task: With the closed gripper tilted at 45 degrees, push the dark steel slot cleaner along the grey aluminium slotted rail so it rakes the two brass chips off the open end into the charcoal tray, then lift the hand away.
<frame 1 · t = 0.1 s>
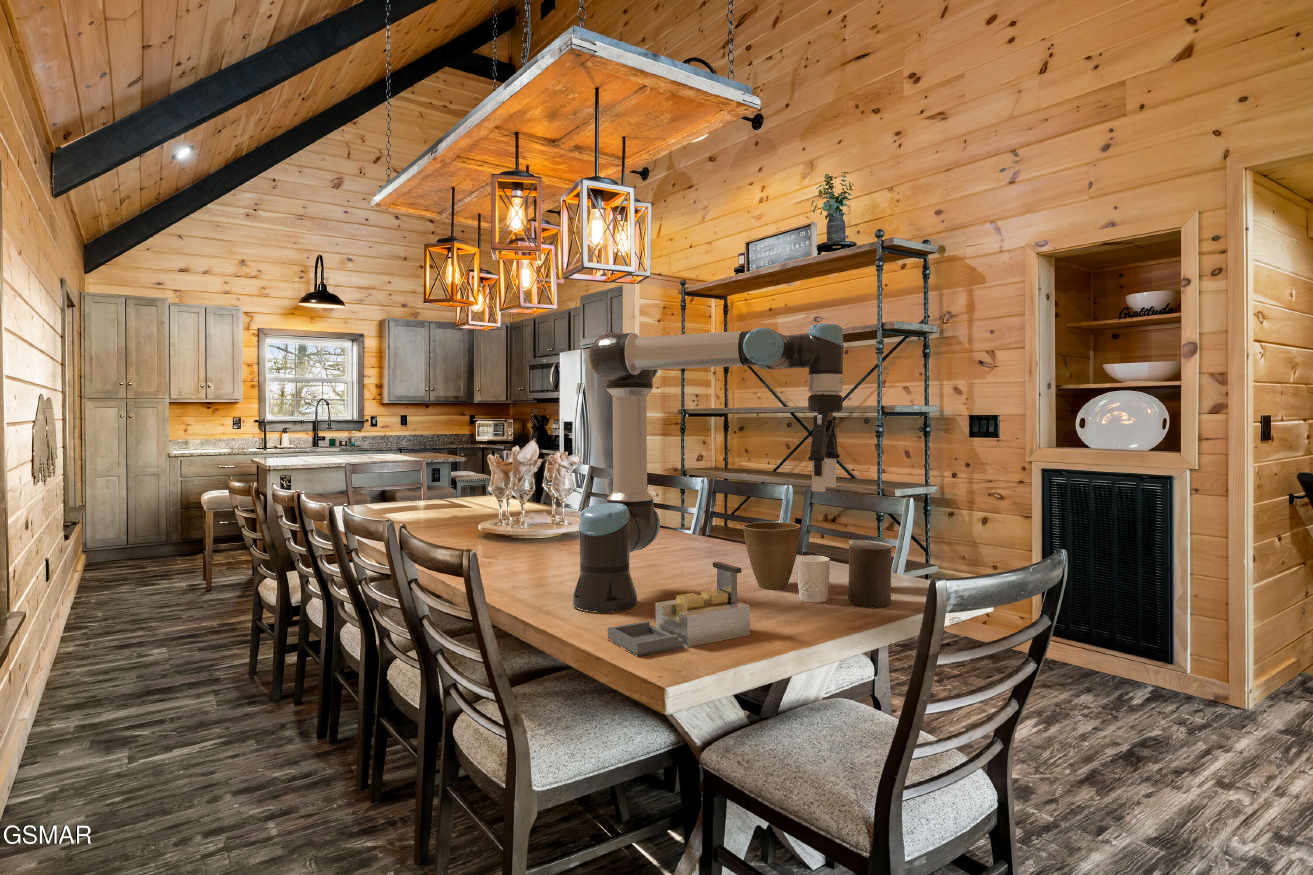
hand: (824, 489, 163), 28 cm above the table, tool pointing down, fingers open, 13 cm apart
brass chip A: (714, 611, 150), point 4 cm above the table, touching slotted rail
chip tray: (644, 643, 141), on the table
slot cleaner: (726, 586, 151), point 9 cm above the table, slide at 0.0 cm
plastic cup: (870, 589, 186), on the table
white cup: (813, 600, 175), on the table
pillar candle: (870, 603, 172), on the table
brass chip B: (690, 615, 147), point 4 cm above the table, touching slotted rail
slotted rail: (700, 633, 148), on the table
plant pot: (771, 586, 190), on the table
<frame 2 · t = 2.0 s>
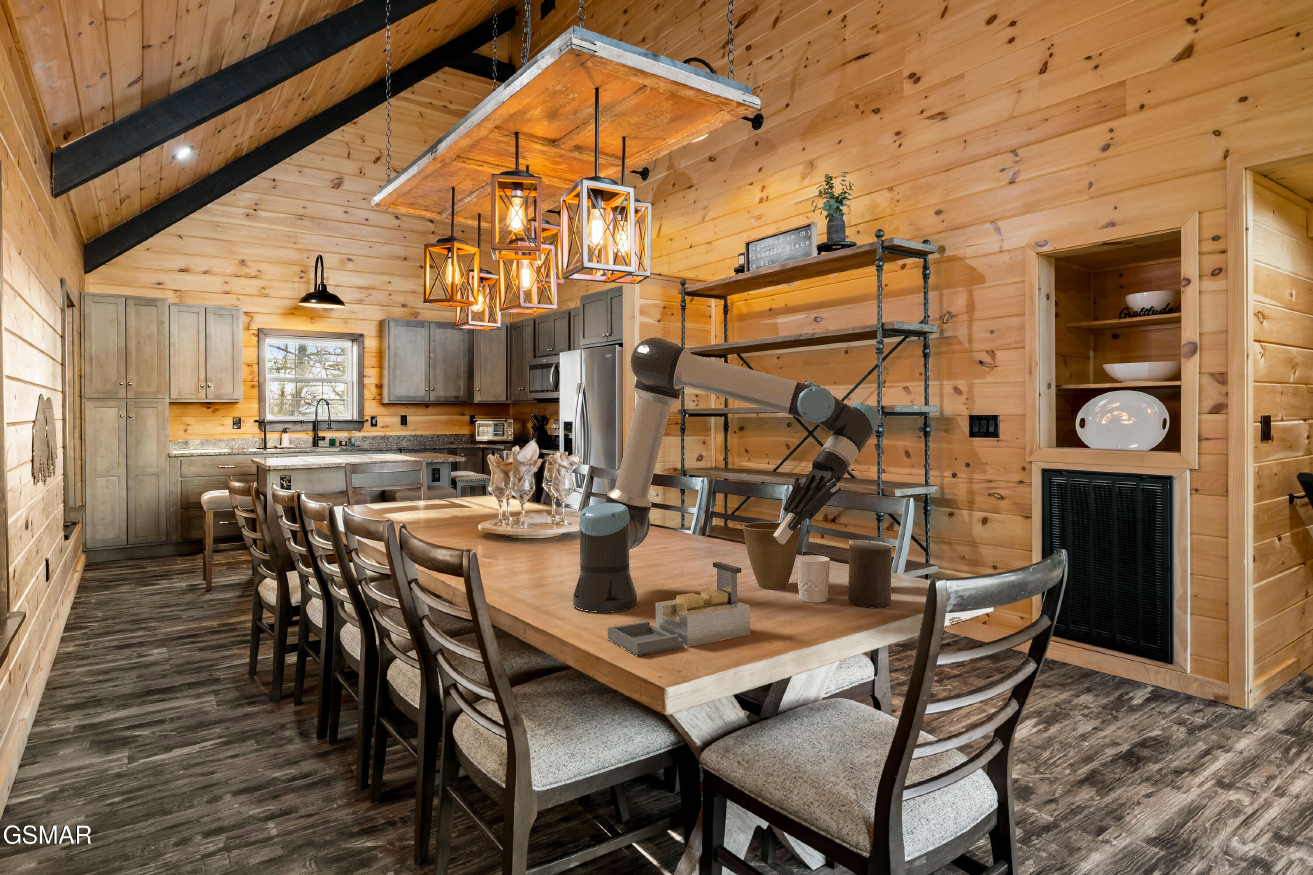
hand: (778, 539, 157), 17 cm above the table, tool tilted 45°, fingers closed
nothing on the table moved.
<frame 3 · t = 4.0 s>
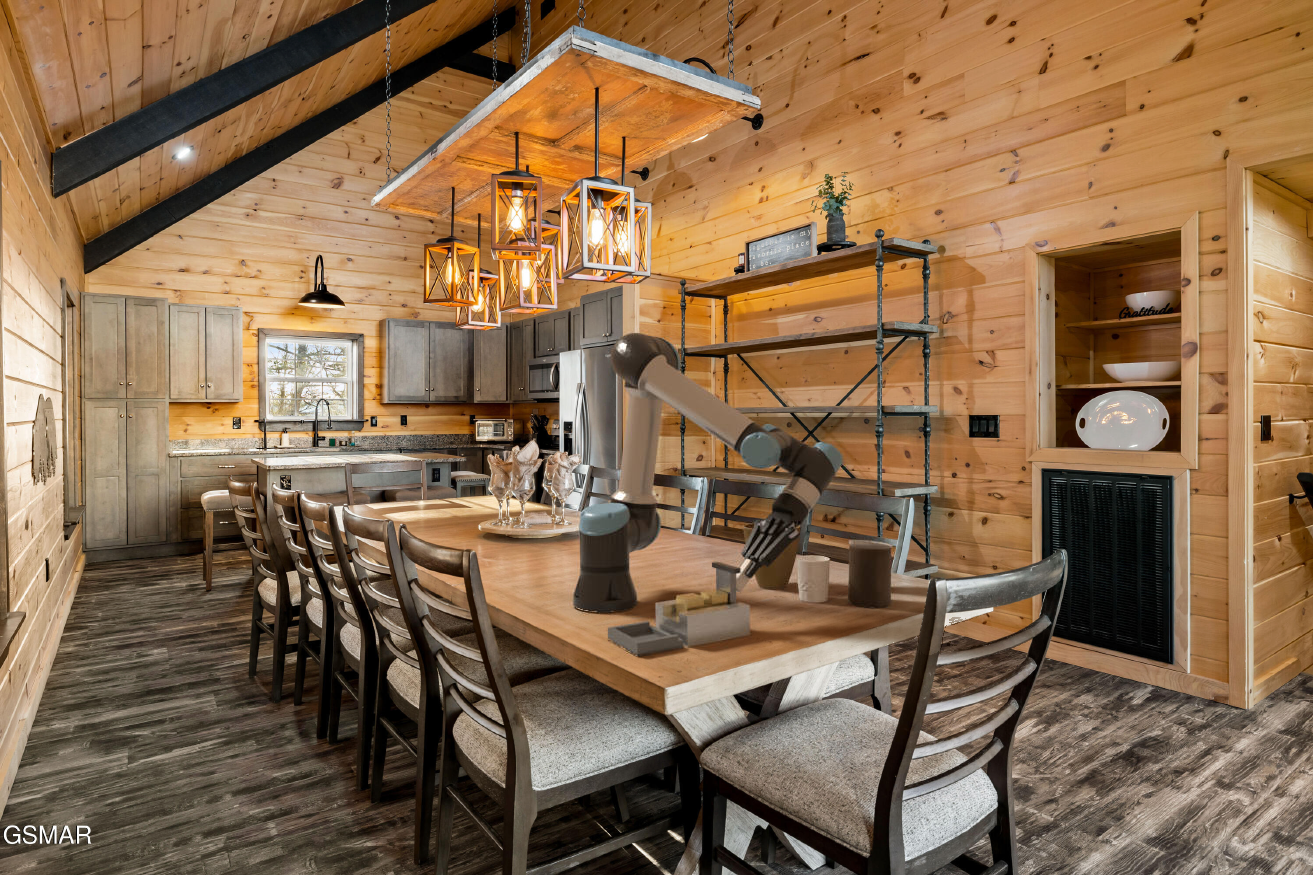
hand: (734, 587, 152), 8 cm above the table, tool tilted 45°, fingers closed
slot cleaner: (726, 586, 151), point 9 cm above the table, slide at 0.2 cm, touching gripper
everything else where it was.
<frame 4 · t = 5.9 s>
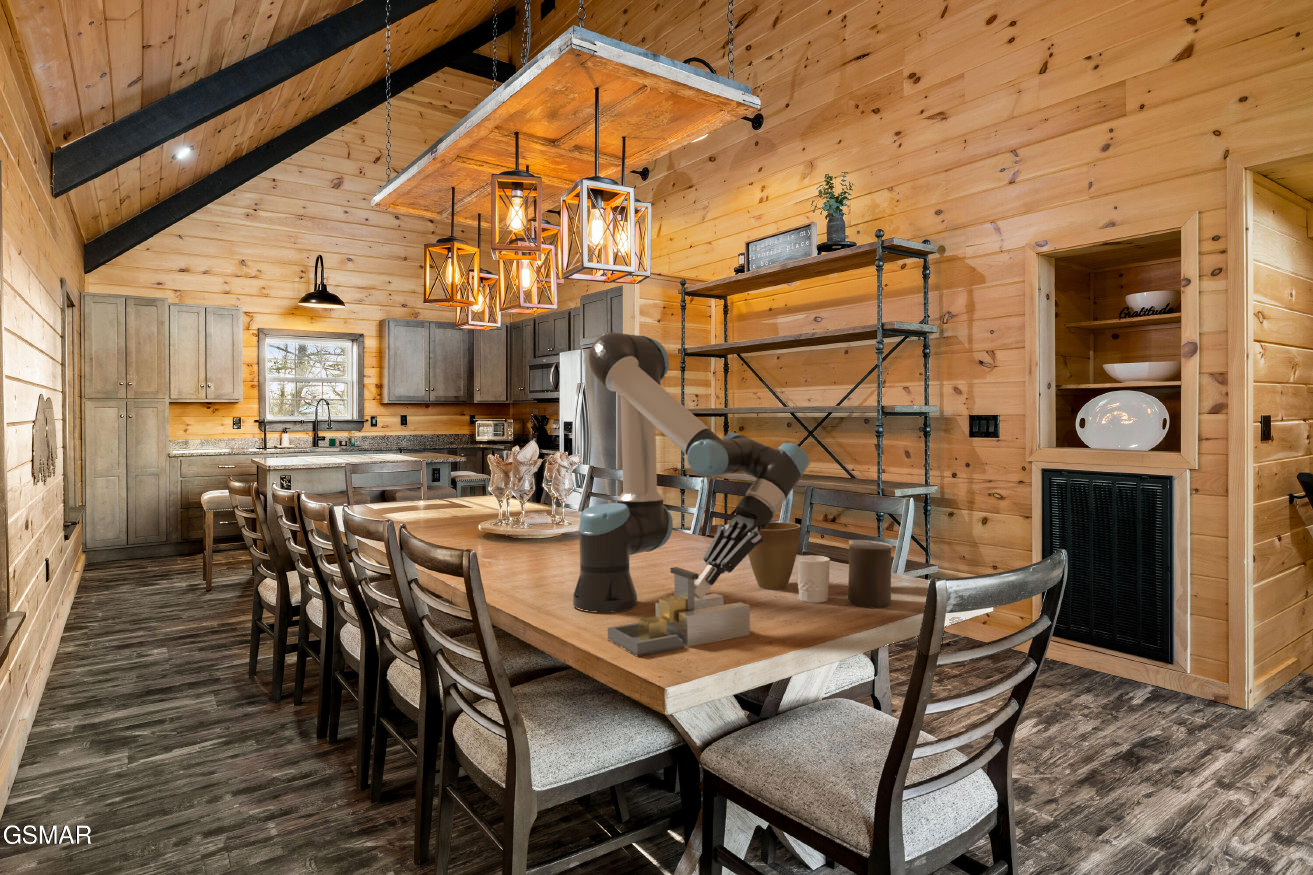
hand: (695, 594, 146), 8 cm above the table, tool tilted 45°, fingers closed
brass chip A: (672, 618, 145), point 4 cm above the table, touching slot cleaner, slotted rail
slot cleaner: (684, 593, 146), point 9 cm above the table, slide at 10.6 cm, touching brass chip A, gripper
brass chip B: (661, 628, 143), point 2 cm above the table, tilted 90°, touching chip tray
everything else where it was.
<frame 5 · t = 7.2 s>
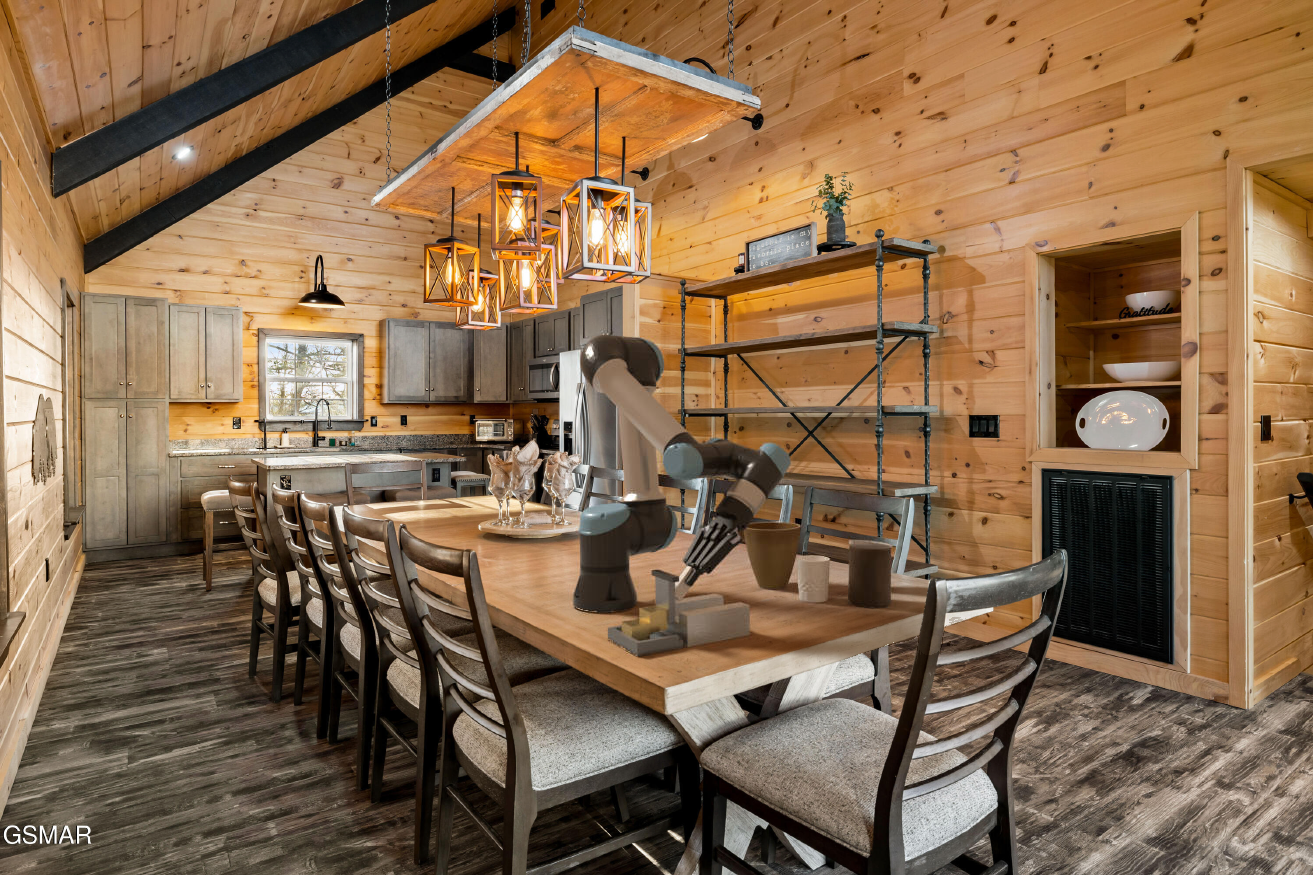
hand: (674, 596, 144), 9 cm above the table, tool tilted 45°, fingers closed
brass chip A: (653, 628, 142), point 3 cm above the table, touching brass chip B, slot cleaner
slot cleaner: (665, 595, 144), point 9 cm above the table, slide at 15.0 cm, touching brass chip A, gripper
brass chip B: (644, 631, 141), point 2 cm above the table, tilted 90°, touching brass chip A, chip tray
everything else where it was.
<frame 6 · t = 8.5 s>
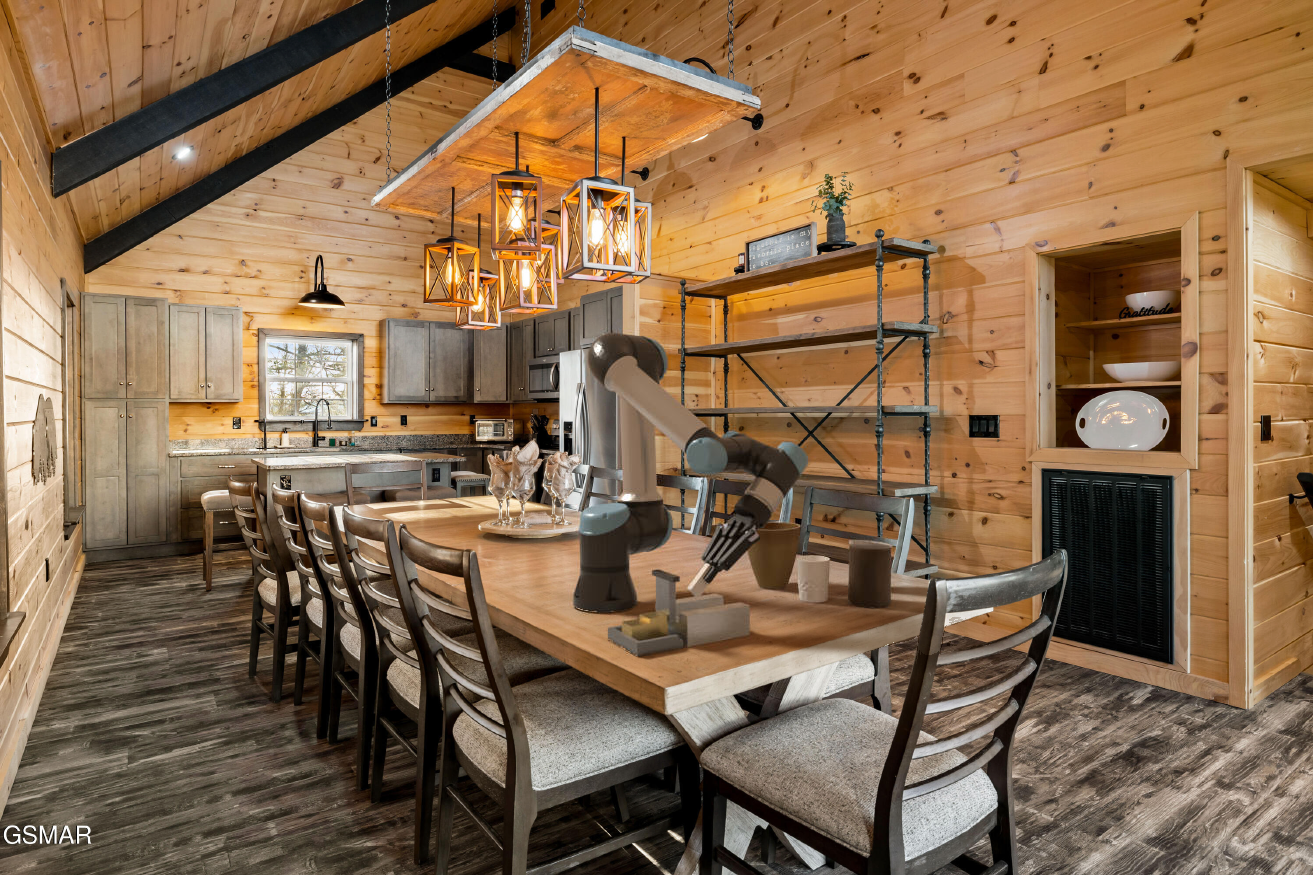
hand: (693, 593, 146), 9 cm above the table, tool tilted 45°, fingers closed
brass chip A: (654, 634, 142), point 1 cm above the table, touching brass chip B, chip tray
slot cleaner: (665, 595, 144), point 9 cm above the table, slide at 14.9 cm
everything else where it was.
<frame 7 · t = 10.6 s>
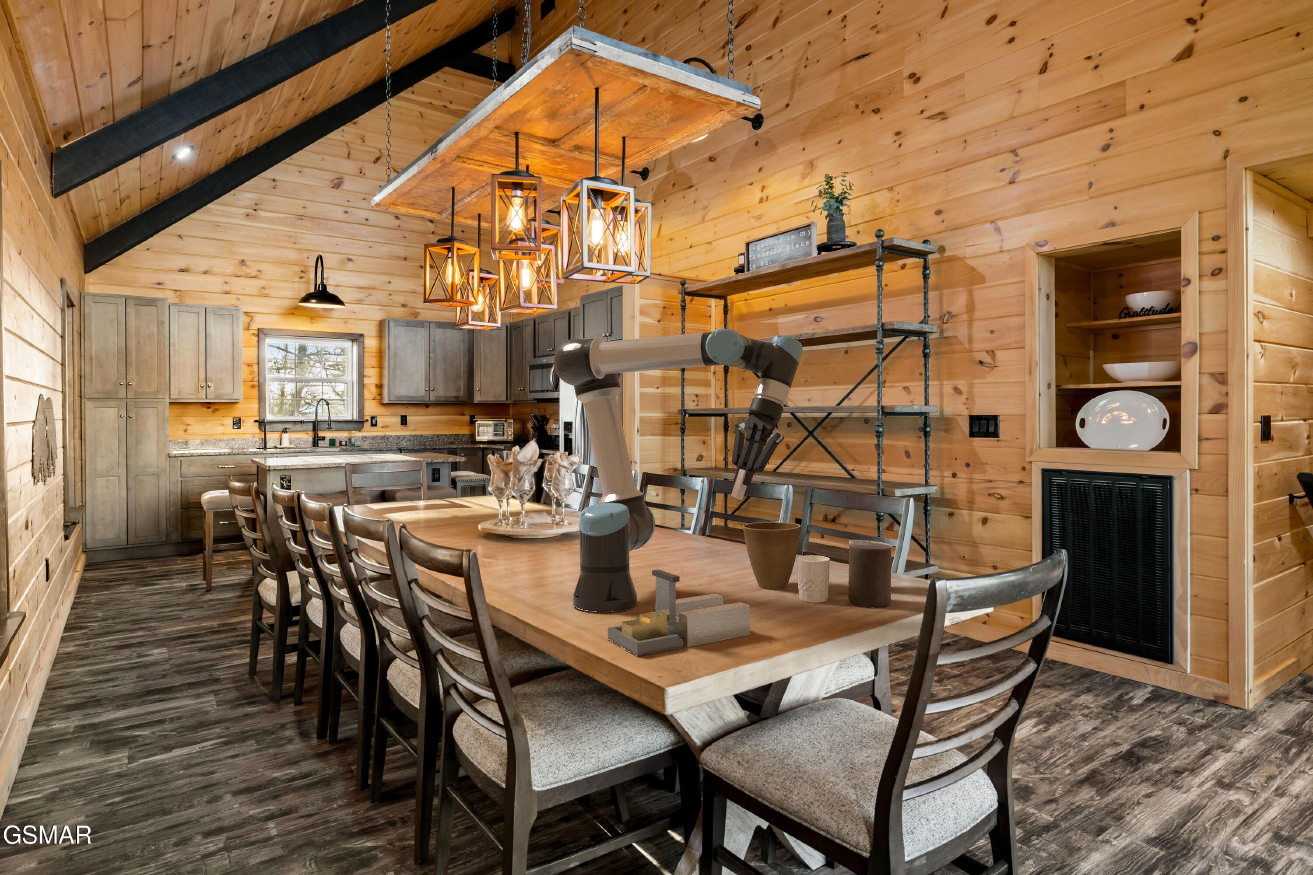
hand: (736, 497, 166), 26 cm above the table, tool tilted 20°, fingers closed
nothing on the table moved.
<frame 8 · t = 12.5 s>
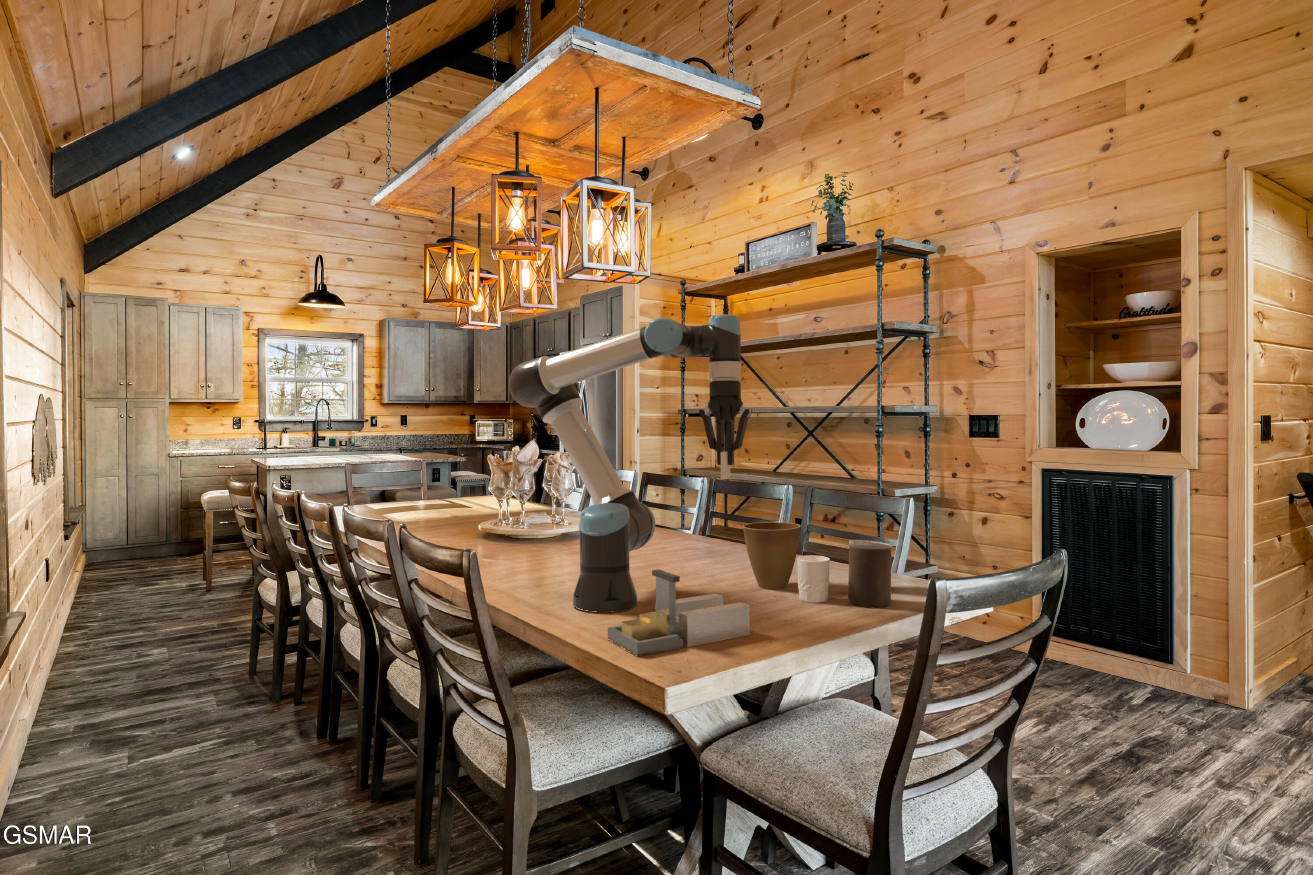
hand: (725, 478, 174), 29 cm above the table, tool pointing down, fingers closed
nothing on the table moved.
at the end: brass chip A 2.1 cm from the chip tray (horizontally); brass chip B 0.1 cm from the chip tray (horizontally); slot cleaner slide at 14.9 cm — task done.
